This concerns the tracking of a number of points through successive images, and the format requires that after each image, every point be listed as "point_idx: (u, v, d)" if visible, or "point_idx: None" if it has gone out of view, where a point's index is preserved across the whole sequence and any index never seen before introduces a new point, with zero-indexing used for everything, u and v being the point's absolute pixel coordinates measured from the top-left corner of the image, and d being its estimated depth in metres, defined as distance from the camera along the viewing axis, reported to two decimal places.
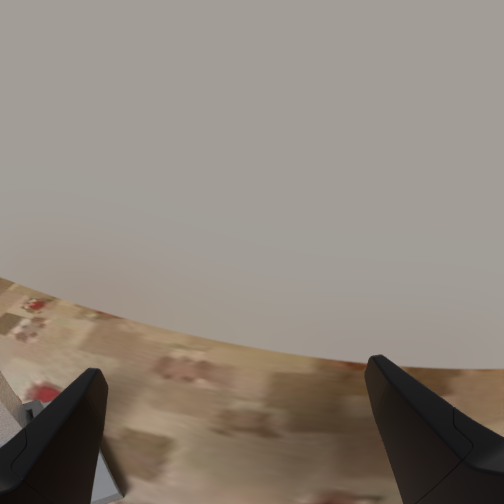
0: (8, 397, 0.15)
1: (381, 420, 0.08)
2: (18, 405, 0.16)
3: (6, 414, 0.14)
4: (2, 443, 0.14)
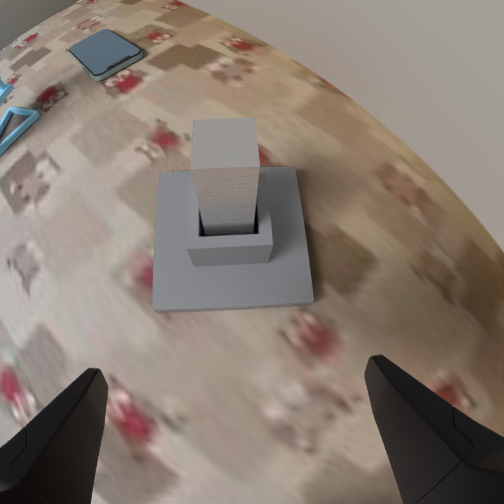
0: None
1: (381, 420, 0.08)
2: None
3: (250, 201, 0.17)
4: (211, 224, 0.20)
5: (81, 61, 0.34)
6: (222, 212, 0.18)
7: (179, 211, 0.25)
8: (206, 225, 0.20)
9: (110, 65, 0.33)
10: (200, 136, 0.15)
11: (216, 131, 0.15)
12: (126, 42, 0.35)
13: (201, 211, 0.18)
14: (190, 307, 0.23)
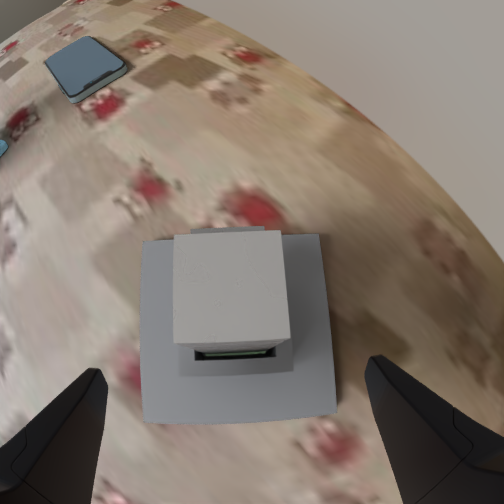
0: None
1: (381, 420, 0.08)
2: None
3: (268, 345, 0.12)
4: (211, 351, 0.14)
5: (56, 77, 0.28)
6: (226, 349, 0.13)
7: (170, 299, 0.19)
8: (204, 351, 0.14)
9: (88, 82, 0.27)
10: (187, 272, 0.09)
11: (214, 261, 0.09)
12: (108, 53, 0.29)
13: None
14: (188, 422, 0.17)
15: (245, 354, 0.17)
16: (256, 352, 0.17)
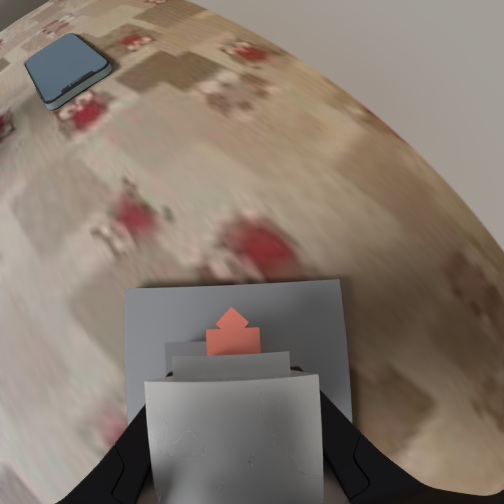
0: None
1: None
2: None
3: None
4: None
5: (34, 80, 0.23)
6: None
7: (159, 362, 0.15)
8: None
9: (66, 86, 0.22)
10: (170, 442, 0.05)
11: (212, 428, 0.05)
12: (91, 51, 0.25)
13: None
14: None
15: None
16: None
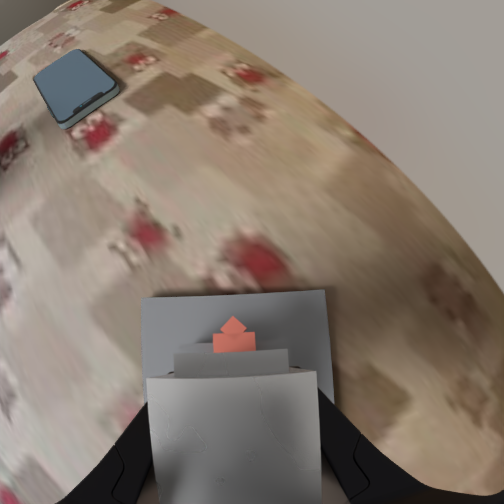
0: None
1: None
2: None
3: None
4: None
5: (45, 98, 0.26)
6: None
7: (172, 359, 0.18)
8: None
9: (77, 106, 0.25)
10: (171, 437, 0.05)
11: (212, 424, 0.05)
12: (99, 70, 0.28)
13: None
14: None
15: None
16: None
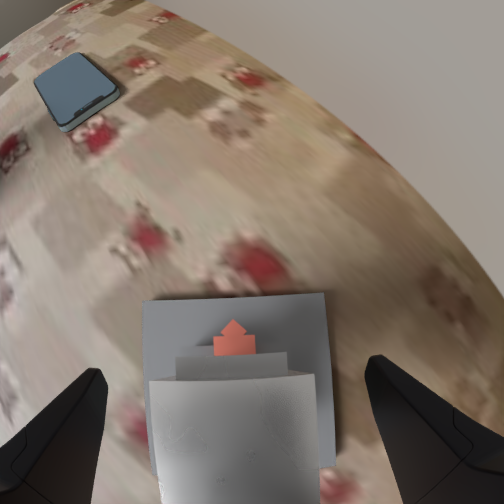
0: None
1: (381, 420, 0.08)
2: None
3: None
4: None
5: (45, 101, 0.27)
6: None
7: (172, 362, 0.19)
8: None
9: (78, 109, 0.26)
10: (173, 438, 0.05)
11: (213, 425, 0.05)
12: (99, 74, 0.28)
13: None
14: None
15: None
16: None
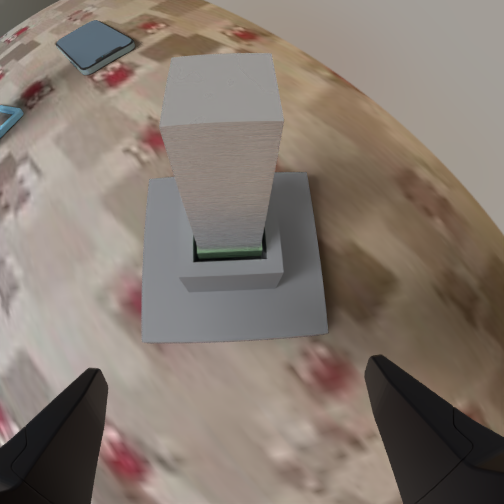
0: None
1: (381, 420, 0.08)
2: None
3: (262, 186, 0.11)
4: (201, 223, 0.13)
5: (68, 54, 0.30)
6: (217, 205, 0.12)
7: (172, 225, 0.22)
8: (194, 223, 0.13)
9: (99, 57, 0.29)
10: (181, 77, 0.08)
11: (208, 70, 0.08)
12: (117, 32, 0.31)
13: (185, 202, 0.11)
14: (185, 340, 0.19)
15: (240, 252, 0.17)
16: (252, 249, 0.17)
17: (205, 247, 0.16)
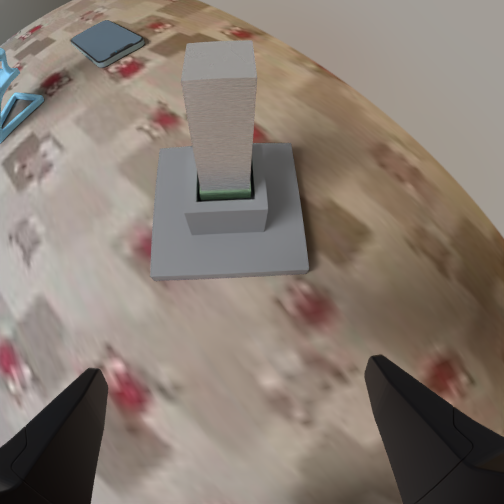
0: None
1: (381, 420, 0.08)
2: None
3: (247, 127, 0.15)
4: (204, 161, 0.17)
5: (84, 50, 0.34)
6: (215, 143, 0.16)
7: (178, 183, 0.26)
8: (199, 162, 0.17)
9: (113, 52, 0.33)
10: (193, 55, 0.12)
11: (211, 50, 0.12)
12: (127, 31, 0.35)
13: (193, 141, 0.16)
14: (187, 274, 0.23)
15: (233, 193, 0.21)
16: (243, 190, 0.21)
17: (206, 187, 0.20)
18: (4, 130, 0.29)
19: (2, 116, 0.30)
